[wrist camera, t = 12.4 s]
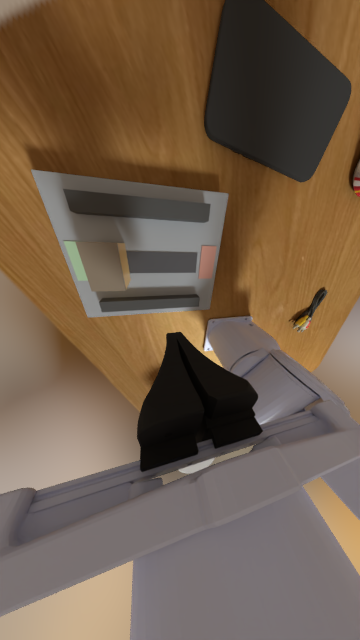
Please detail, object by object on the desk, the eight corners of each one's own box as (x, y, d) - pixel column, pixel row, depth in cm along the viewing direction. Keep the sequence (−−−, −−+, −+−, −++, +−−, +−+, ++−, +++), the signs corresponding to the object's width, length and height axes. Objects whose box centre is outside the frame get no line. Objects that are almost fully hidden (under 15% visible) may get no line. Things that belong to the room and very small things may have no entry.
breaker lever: (124, 243, 14) (116, 243, 11) (130, 280, 16) (125, 290, 13) (94, 242, 14) (75, 241, 10) (105, 280, 16) (91, 291, 12)
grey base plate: (220, 198, 16) (229, 193, 14) (205, 304, 23) (209, 309, 21) (47, 179, 12) (29, 168, 10) (93, 310, 19) (87, 317, 18)
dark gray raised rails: (205, 207, 14) (210, 203, 13) (195, 302, 20) (198, 306, 19) (71, 194, 12) (63, 188, 10) (105, 307, 17) (101, 312, 16)
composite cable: (319, 287, 27) (334, 290, 25) (330, 294, 28) (344, 298, 26) (285, 325, 31) (295, 331, 29) (296, 329, 32) (306, 335, 30)
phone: (309, 184, 16) (203, 132, 12) (302, 187, 17) (200, 138, 13) (357, 84, 13) (231, -35, 9) (346, 92, 14) (224, -14, 10)
